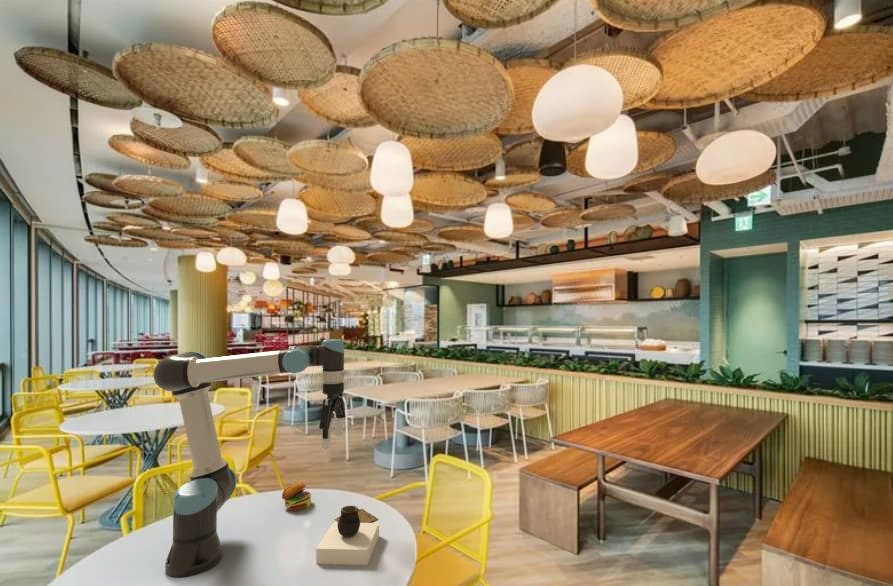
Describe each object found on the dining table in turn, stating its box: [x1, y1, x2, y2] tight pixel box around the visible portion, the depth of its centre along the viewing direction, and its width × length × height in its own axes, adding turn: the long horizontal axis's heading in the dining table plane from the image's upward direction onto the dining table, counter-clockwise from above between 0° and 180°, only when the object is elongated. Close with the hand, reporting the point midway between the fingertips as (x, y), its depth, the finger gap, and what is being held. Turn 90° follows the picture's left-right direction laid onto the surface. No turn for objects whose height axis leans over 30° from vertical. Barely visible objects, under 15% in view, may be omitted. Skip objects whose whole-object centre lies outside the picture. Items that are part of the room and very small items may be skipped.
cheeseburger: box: [281, 482, 312, 511], centre depth 164 cm, size 10×11×10 cm
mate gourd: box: [337, 505, 360, 537], centre depth 134 cm, size 7×8×10 cm
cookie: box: [334, 508, 379, 523], centre depth 153 cm, size 12×12×1 cm
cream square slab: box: [315, 521, 380, 566], centre depth 134 cm, size 16×16×5 cm
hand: (333, 441), depth 148 cm, fingers open, 13 cm apart
